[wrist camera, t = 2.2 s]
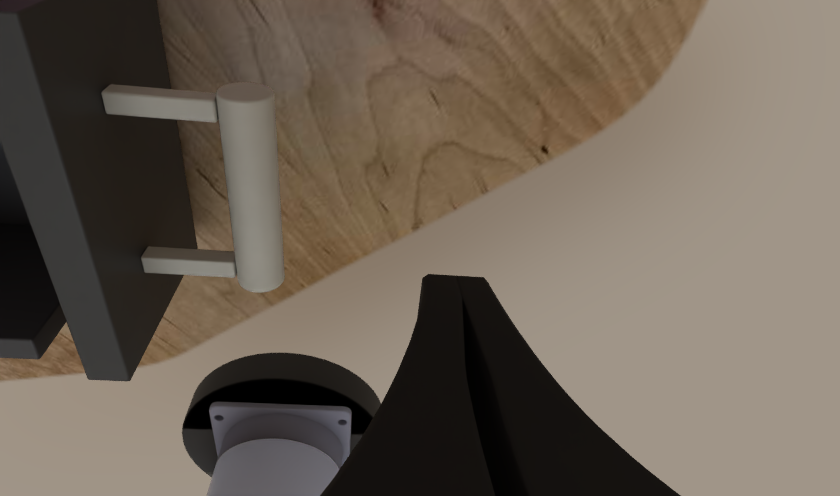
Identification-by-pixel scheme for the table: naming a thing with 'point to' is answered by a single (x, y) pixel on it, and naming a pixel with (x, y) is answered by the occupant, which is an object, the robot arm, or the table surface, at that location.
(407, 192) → the table surface
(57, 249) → the drawer
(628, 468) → the robot arm
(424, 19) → the table surface
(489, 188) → the table surface
